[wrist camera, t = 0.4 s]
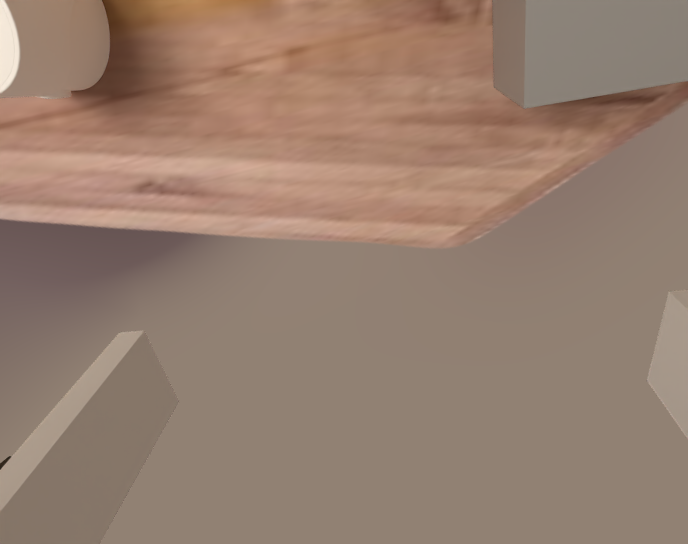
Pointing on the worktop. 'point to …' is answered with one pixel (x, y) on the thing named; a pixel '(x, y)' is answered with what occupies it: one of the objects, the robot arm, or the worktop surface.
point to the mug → (51, 47)
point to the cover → (586, 47)
